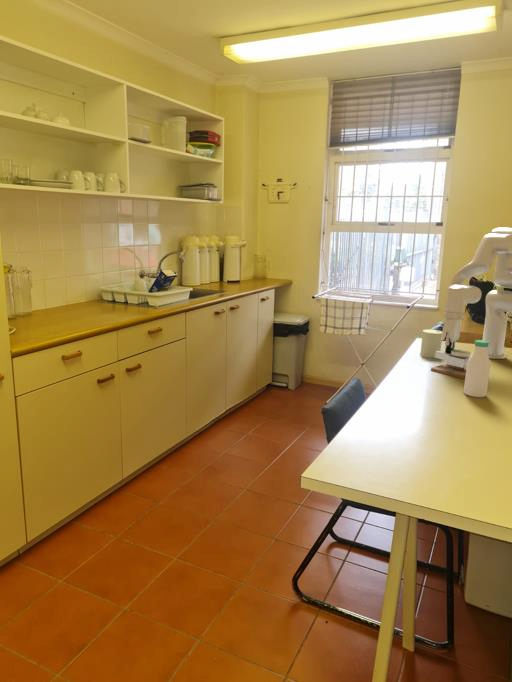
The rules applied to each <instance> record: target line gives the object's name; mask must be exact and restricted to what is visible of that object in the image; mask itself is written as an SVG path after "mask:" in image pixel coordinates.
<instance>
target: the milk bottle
mask: <svg viewBox="0 0 512 682" xmlns="http://www.w3.org/2000/svg"><path fill="white" fill-rule="evenodd" d="M488 345H489V342H487V341H483V339H476V340H474V345H473V346H474V347H473V348H474V349H473V351H472V353H471V354H470V358H469V360H468V363H467V369H466V377H465V379H464V385H463V386H464V387H463V393H464V395H467V396H468V397H472V398H473V397H474V398H484V397H486V396H487V393H488V387H489V380H490V379H489V378H490V371H491V362H490V360H491V359H490V358H489V357H488V353H487V348H488Z"/></svg>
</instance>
